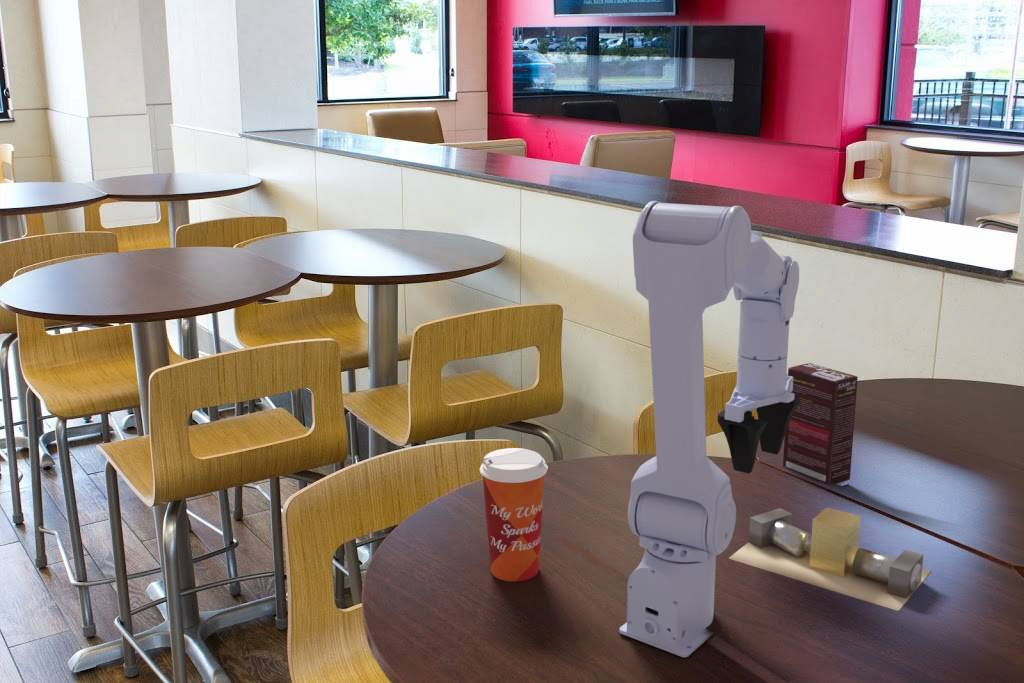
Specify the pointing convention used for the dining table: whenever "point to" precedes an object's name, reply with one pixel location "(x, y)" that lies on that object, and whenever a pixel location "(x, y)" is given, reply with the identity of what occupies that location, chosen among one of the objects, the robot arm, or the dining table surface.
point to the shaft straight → (880, 567)
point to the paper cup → (514, 511)
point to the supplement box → (821, 424)
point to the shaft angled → (790, 538)
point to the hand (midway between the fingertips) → (756, 461)
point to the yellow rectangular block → (834, 541)
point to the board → (797, 568)
